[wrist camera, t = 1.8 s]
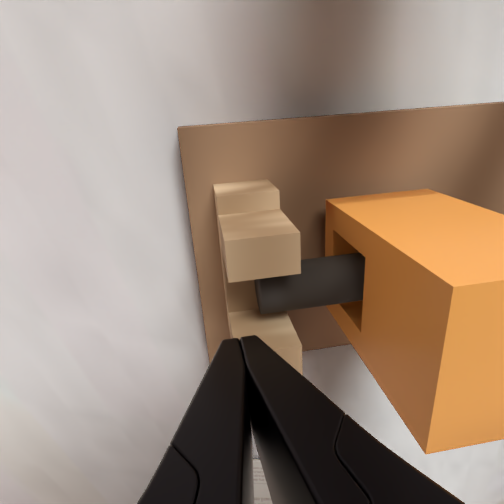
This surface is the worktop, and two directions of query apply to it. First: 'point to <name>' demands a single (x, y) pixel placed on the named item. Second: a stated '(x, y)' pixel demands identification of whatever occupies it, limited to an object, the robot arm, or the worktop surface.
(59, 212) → the worktop surface
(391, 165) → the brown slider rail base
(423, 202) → the sleeve
